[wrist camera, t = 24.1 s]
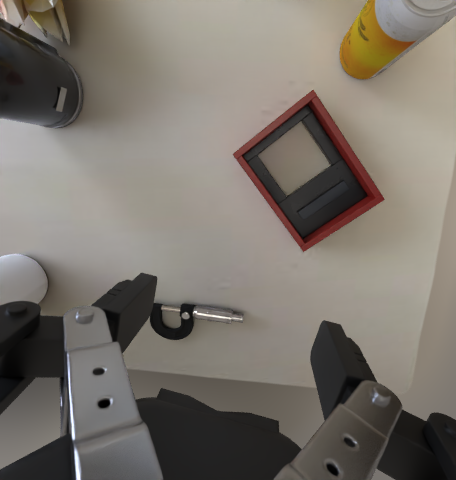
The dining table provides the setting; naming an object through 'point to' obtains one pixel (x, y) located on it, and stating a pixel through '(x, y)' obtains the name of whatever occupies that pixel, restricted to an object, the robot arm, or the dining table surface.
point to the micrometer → (189, 318)
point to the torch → (37, 15)
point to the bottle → (21, 279)
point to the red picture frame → (321, 186)
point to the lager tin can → (390, 33)
